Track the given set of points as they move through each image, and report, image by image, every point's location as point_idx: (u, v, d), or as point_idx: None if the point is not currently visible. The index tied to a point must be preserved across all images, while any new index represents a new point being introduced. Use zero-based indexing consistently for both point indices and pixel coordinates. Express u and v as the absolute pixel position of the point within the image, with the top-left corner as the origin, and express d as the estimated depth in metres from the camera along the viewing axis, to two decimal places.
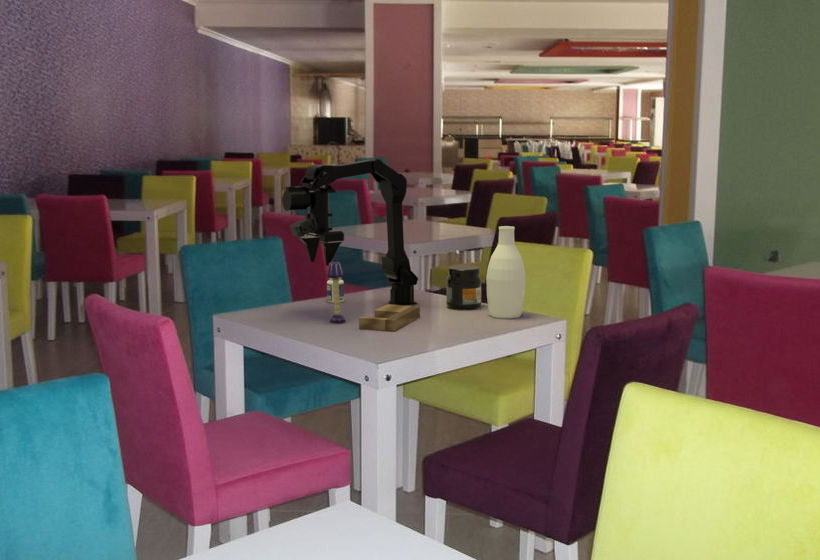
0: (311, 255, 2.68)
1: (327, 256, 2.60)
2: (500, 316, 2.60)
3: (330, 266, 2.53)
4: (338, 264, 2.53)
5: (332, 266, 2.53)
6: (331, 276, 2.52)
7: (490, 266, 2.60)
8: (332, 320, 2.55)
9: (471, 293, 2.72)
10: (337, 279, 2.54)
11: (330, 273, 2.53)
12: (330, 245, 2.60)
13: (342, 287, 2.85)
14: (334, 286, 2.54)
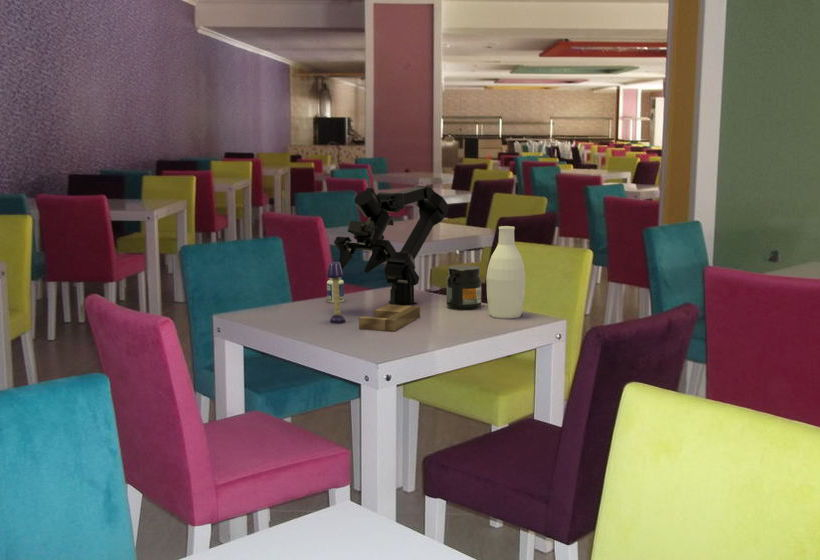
0: (342, 263, 2.64)
1: (371, 263, 2.58)
2: (500, 316, 2.60)
3: (330, 266, 2.53)
4: (338, 264, 2.53)
5: (332, 266, 2.53)
6: (331, 276, 2.52)
7: (490, 266, 2.60)
8: (332, 320, 2.55)
9: (471, 293, 2.72)
10: (337, 279, 2.54)
11: (330, 273, 2.53)
12: (377, 256, 2.60)
13: (342, 287, 2.85)
14: (334, 286, 2.54)
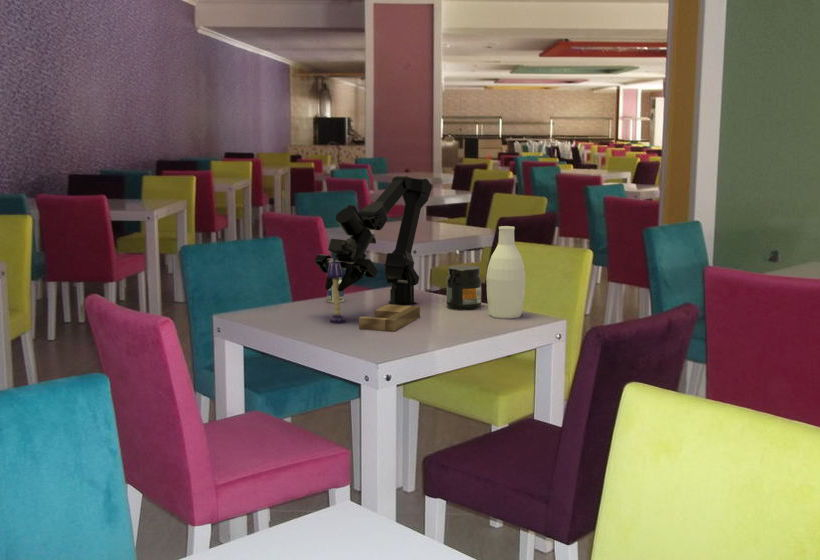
0: (329, 283, 2.56)
1: (345, 281, 2.53)
2: (500, 316, 2.60)
3: (330, 266, 2.53)
4: (338, 264, 2.53)
5: (332, 266, 2.53)
6: (331, 276, 2.52)
7: (490, 266, 2.60)
8: (332, 320, 2.55)
9: (471, 293, 2.72)
10: (337, 279, 2.54)
11: (330, 273, 2.53)
12: (351, 275, 2.55)
13: None
14: (334, 286, 2.54)
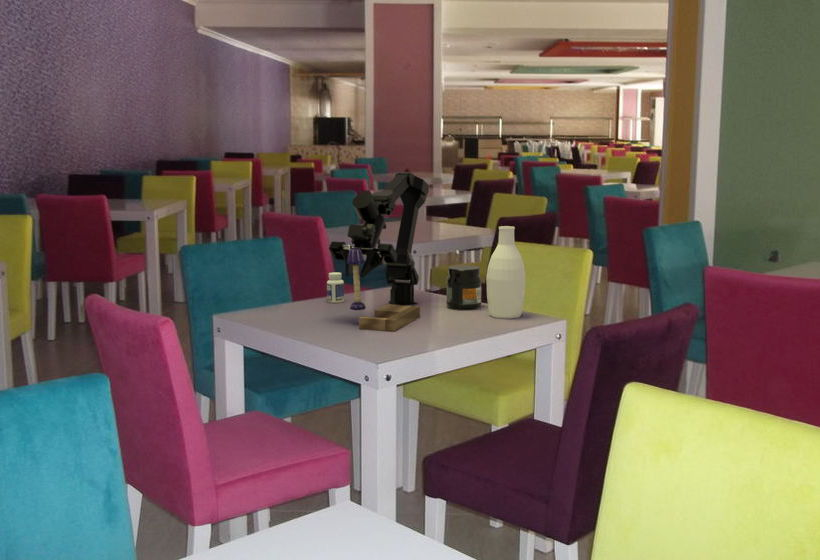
0: (348, 269, 2.52)
1: (366, 267, 2.50)
2: (500, 316, 2.60)
3: (351, 252, 2.49)
4: (359, 250, 2.50)
5: (354, 252, 2.49)
6: (353, 262, 2.49)
7: (490, 266, 2.60)
8: (353, 307, 2.52)
9: (471, 293, 2.72)
10: (358, 265, 2.51)
11: (352, 260, 2.49)
12: (371, 260, 2.53)
13: (342, 287, 2.85)
14: (355, 272, 2.51)
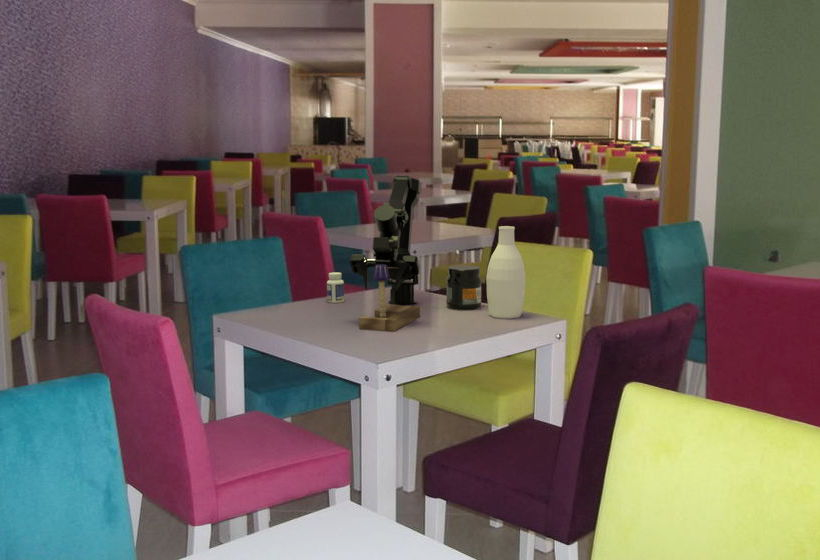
0: (367, 282, 2.51)
1: (399, 280, 2.49)
2: (500, 316, 2.60)
3: (379, 269, 2.48)
4: (386, 266, 2.49)
5: (381, 268, 2.48)
6: (381, 279, 2.48)
7: (490, 266, 2.60)
8: None
9: (471, 293, 2.72)
10: (384, 281, 2.50)
11: (380, 276, 2.48)
12: None
13: (342, 287, 2.85)
14: (381, 289, 2.50)
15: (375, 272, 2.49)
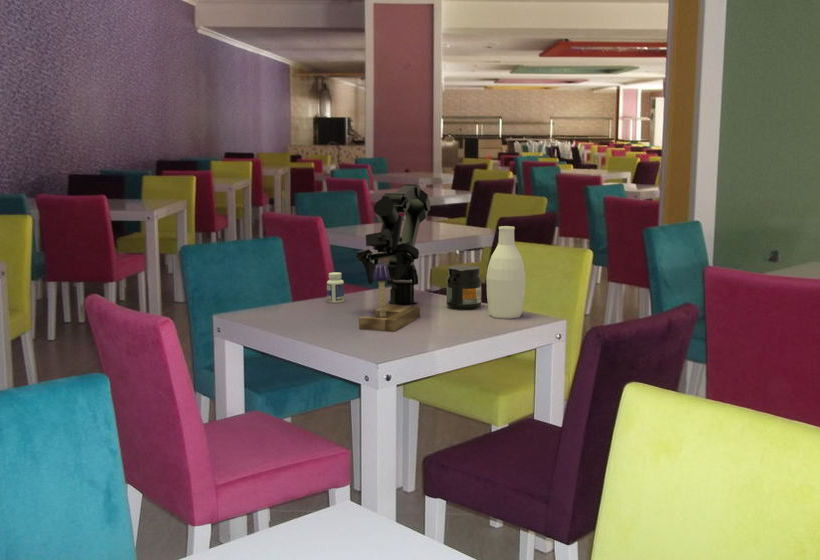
0: (370, 277, 2.64)
1: (399, 269, 2.58)
2: (500, 316, 2.60)
3: (379, 269, 2.48)
4: (386, 266, 2.49)
5: (381, 268, 2.48)
6: (381, 279, 2.48)
7: (490, 266, 2.60)
8: None
9: (471, 293, 2.72)
10: (384, 281, 2.50)
11: (380, 276, 2.48)
12: (402, 261, 2.60)
13: (342, 287, 2.85)
14: (381, 289, 2.50)
15: (375, 272, 2.49)
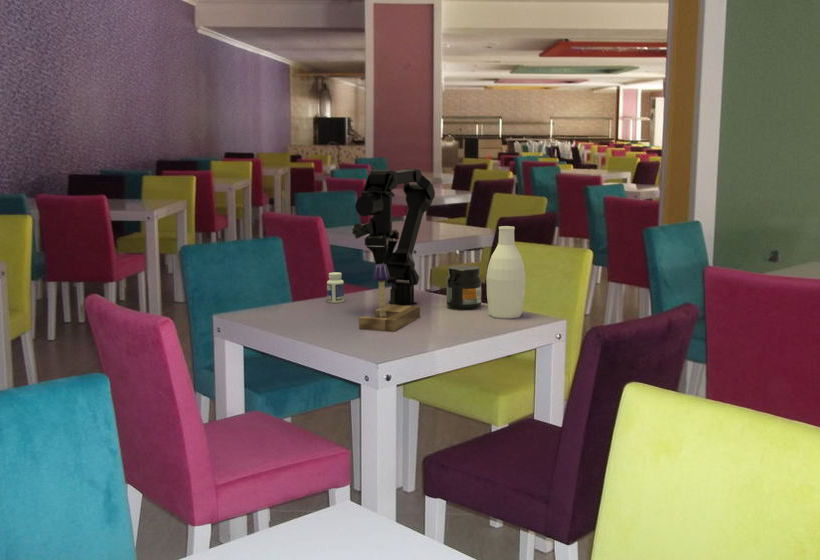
0: (384, 258, 2.74)
1: (376, 260, 2.64)
2: (500, 316, 2.60)
3: (378, 268, 2.48)
4: (386, 266, 2.49)
5: (381, 268, 2.48)
6: (381, 279, 2.48)
7: (490, 266, 2.60)
8: None
9: (471, 293, 2.72)
10: (384, 281, 2.50)
11: (380, 276, 2.48)
12: (378, 249, 2.63)
13: (342, 287, 2.85)
14: (381, 289, 2.50)
15: (375, 272, 2.49)
